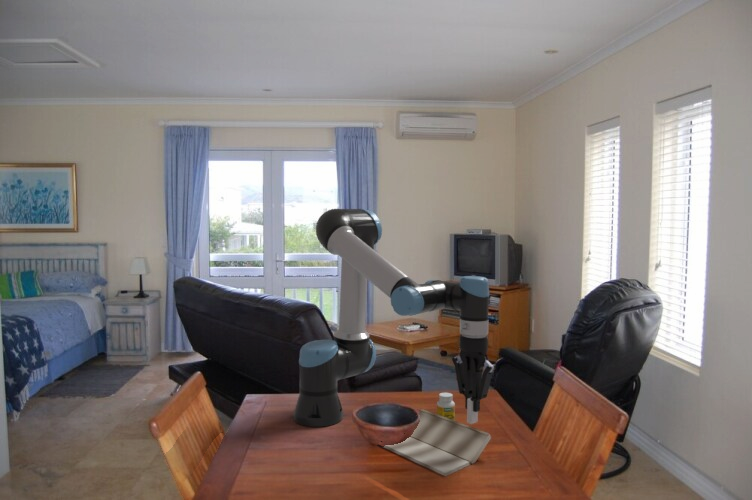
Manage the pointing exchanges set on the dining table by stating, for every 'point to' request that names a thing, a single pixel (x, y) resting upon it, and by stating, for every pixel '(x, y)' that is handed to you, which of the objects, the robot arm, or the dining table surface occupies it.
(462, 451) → the plank
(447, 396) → the supplement bottle
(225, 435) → the dining table surface
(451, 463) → the laid board
